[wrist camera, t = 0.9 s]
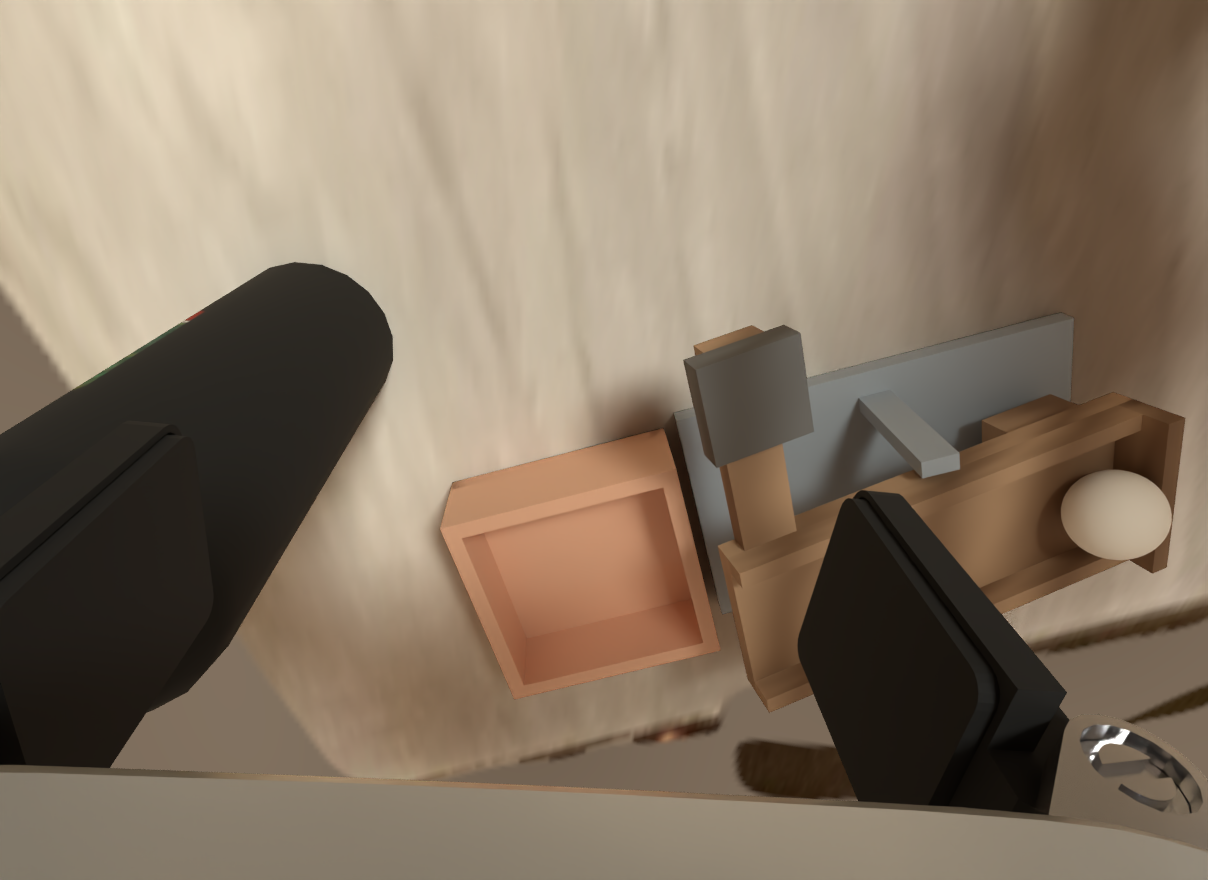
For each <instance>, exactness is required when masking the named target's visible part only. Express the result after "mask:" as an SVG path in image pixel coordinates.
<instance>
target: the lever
mask: <svg viewBox="0 0 1208 880" xmlns="http://www.w3.org/2000/svg"><path fill="white" fill-rule="evenodd" d="M694 350H695V355H696V356H693V357H691V358H688V359H685V360H683V361H684V366H685V370H686V375H687V379H688V384H689V388H690V393H691V397H692V402H693V406H694V411H695V415H696V420H697V424H698V429H699V433H700V438H701V442H702V447H703V451H704V455H705V456H706V457H707V458H708V459H709V461H710V462H711V463H712V464H713V465H714V466H715V467H716V468H720V473H721V477H722V482H723V487H724V491H725V496H726V501H727V505H728V510H729V515H730V520H731V524H732V529H733V534H734V538H735V539H734V540H731V541H728V542H726V543H723V544H721V545H718V550H719V554H720V559H721V563H722V567H723V572H724V576H725V581H726V585H727V589H728V594H729V598H730V603H731V607H732V611H733V616H734V620H735V625H736V629H737V633H738V638H739V642H740V647H741V651H742V655H743V660H744V664H745V669H746V673H747V677H748V680H749V682H750V683H751V685H752V687H753V688H754V690H755V691H756V693H757V694H758V696H759V697H760V699H761V701H762V702H763V704H764V705H765V707H766V708H767V710H768V711H769V712H772V711H775V710H777V709H779V708H782V707H784V706H786V705H789V704H791V703H793V702H796V701H798V700H801V699H803V698H805V697H808V696H810V695H812V694H813V691H812V689H811V686H810V684H809V682H808V679H807V677H806V674H805V672H804V670H803V667H802V665H801V662H800V660H799V656H798V647H797V644H798V636H799V632H800V629H801V626H802V623H803V620H804V617H805V614H806V611H807V608H808V605H809V602H810V599H811V596H812V593H813V590H814V587H815V584H816V581H817V578H818V575H819V572H820V569H821V565H822V562H823V559H824V556H825V553H826V550H827V547H828V544H829V541H830V538H831V535H832V532H833V529H834V526H835V523H836V520H837V517H838V514H839V511H840V508H841V505H842V503H843V502H844V501H845V500H846V499H847V498H852V499H853V497H854V496H855V495H856V493H857V492H859V491H857V492H854V493H852V494H849V495H847V496H844V497H842V498H839V499H836V500H834V501H831V502H829V503H826V504H824V505H821V506H818V507H816V508H813V509H811V510H808V511H806V512H803V513H800V514H798V515H795V516H794V511H793V505H792V499H791V493H790V487H789V481H788V475H787V469H786V463H785V457H784V450H783V443H785V442H788V441H791V440H793V439H796V438H799V437H802V436H804V435H807V434H810V433H812V432H814V427H813V420H812V413H811V406H810V399H809V391H808V384H807V377H806V370H805V363H804V356H803V348H802V341H801V334H800V332H798V331H795V330H793V329H791V328H789V327H787V326H785V325H782V326H779V327H776V328H773V329H770V330H768V331H765V332H764V331H762V330H760V329H758V328H756V327H754V326H752V325H751V326H748V327H745V328H743V329H740V330H737V331H734V332H731V333H728V334H725V335H723V336H720V337H717V338H714V339H711V340H708V341H705V342H702V343H700V344H697V345H694ZM1184 424H1185V418H1184V417H1181V416H1178V415H1176V414H1173V413H1170V412H1167V411H1164V410H1162V409H1159V408H1156V407H1153V406H1150V405H1148V404H1145V403H1142V402H1139V401H1137V400H1134V399H1131V398H1128V397H1125V396H1123V395H1120V394H1117V393H1114V392H1112V393H1109V394H1107V395H1104V396H1102V397H1099V398H1096V399H1094V400H1091V401H1089V402H1086V403H1084V404H1081V405H1077V404H1074V403H1072V402H1069V401H1067V400H1064V399H1062V398H1059V397H1057V396H1054V395H1052V394H1049V395H1046V396H1044V397H1041V398H1038V399H1036V400H1033V401H1031V402H1028V403H1025V404H1023V405H1020V406H1018V407H1015V408H1012V409H1010V410H1007V411H1005V412H1002V413H999V414H997V415H994V416H992V417H989V418H986V419H984V420H982V443H981V444H978V445H975V446H973V447H970V448H968V449H965V450H963V451H960V452H959V455H960V469H959V470H955V471H951V472H947V473H943V474H939V475H935V476H931V477H927V478H923V479H922V478H921V477H920V475H919V474H918V473H917V472H916V471H915V470H911V471H909V472H906V473H903V474H901V475H898V476H896V477H893V478H890V479H888V480H885V481H883V482H880V483H878V484H875V485H872V486H870V487H867V488H865V489H862V490H867V491H878V492H888V493H898V494H900V495H902V496H903V497H904V498H905V499H906V501H907V502H908V503H909V504H910V505H911V507H912V508H913V509H914V510H915V511H916V513H917V514H918V515H919V516H920V517H921V519H922V520H923V521H924V522H925V523H926V525H927V526H928V527H929V528H930V529H931V531H932V532H933V533H934V534H935V535H936V537H937V538H938V539H939V540H940V541H941V543H942V544H943V545H944V546H945V547H946V548H947V550H948V551H949V552H950V553H951V554H952V556H953V557H954V558H955V559H956V560H957V562H958V563H959V564H960V565H961V566H962V568H963V569H964V570H965V571H966V572H967V574H968V575H969V576H970V577H971V578H972V580H973V581H974V582H975V583H976V584H977V586H978V587H979V588H980V589H981V590H982V591H983V593H984V594H985V595H986V596H987V597H988V599H989V600H990V601H991V602H992V603H993V605H994V606H995V607H996V608H997V609H998V611H999V612H1000V613H1001V614H1003V613H1005V612H1008V611H1010V610H1012V609H1015V608H1017V607H1019V606H1022V605H1024V604H1026V603H1029V602H1031V601H1033V600H1036V599H1038V598H1040V597H1043V596H1045V595H1048V594H1050V593H1052V592H1055V591H1057V590H1059V589H1062V588H1064V587H1066V586H1069V585H1071V584H1073V583H1076V582H1078V581H1080V580H1083V579H1085V578H1088V577H1090V576H1092V575H1095V574H1097V573H1099V572H1102V571H1104V570H1106V569H1109V568H1111V567H1113V566H1116V565H1118V564H1120V563H1123V562H1125V561H1128V560H1130V561H1132V562H1134V563H1135V564H1137V565H1139V566H1141V567H1142V568H1144V569H1146V570H1147V571H1149V572H1151V573H1155V572H1157V571H1159V570H1162V569H1164V568H1166V567H1167V561H1168V553H1169V545H1170V537H1171V529H1172V522H1171V527H1170V530H1169V533H1168V535H1167V537H1166V538H1165V540H1164V541H1163V542H1162V543H1161V544H1160V545H1159V546H1158V547H1157V548H1156V549H1155V550H1153V551H1152V552H1150V553H1148V554H1146V555H1144V556H1141V557H1138V558H1134V559H1128V560H1111V559H1105V558H1101V557H1098V556H1095V555H1093V554H1091V553H1088V552H1087V551H1085V550H1083V549H1082V548H1080V547H1079V546H1078V545H1077V544H1076V543H1075V542H1074V541H1073V540H1072V539H1071V538H1070V537H1069V535H1068V534H1067V532H1066V530H1065V528H1064V526H1063V523H1062V519H1061V505H1062V501H1063V498H1064V496H1065V494H1066V493H1067V491H1068V490H1069V488H1070V487H1071V486H1072V485H1073V484H1074V483H1075V482H1076V481H1078V480H1079V479H1081V478H1082V477H1084V476H1086V475H1088V474H1091V473H1094V472H1097V471H1102V470H1124V471H1129V472H1132V473H1136V474H1139V475H1141V476H1143V477H1145V478H1147V479H1148V480H1150V481H1151V482H1153V483H1154V484H1155V485H1156V486H1157V487H1158V488H1159V489H1160V490H1161V491H1162V492H1163V494H1164V495H1165V496H1166V498H1167V500H1168V502H1169V505H1170V508H1171V514H1172V521H1173V513H1174V504H1175V496H1176V488H1177V480H1178V472H1179V464H1180V456H1181V448H1182V440H1183V432H1184ZM860 491H861V490H860Z"/></svg>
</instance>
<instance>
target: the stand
mask: <svg viewBox="0 0 1208 880" xmlns="http://www.w3.org/2000/svg"><path fill="white" fill-rule="evenodd" d="M1073 332H1074V318H1073V317H1070V316H1068V315H1066V314H1064V313H1062V312H1061V313H1057V314H1053V315H1049V316H1045V317H1041V318H1038V319H1034V320H1030V321H1026V322H1022V323H1018V324H1014V325H1011V326H1007V327H1003V328H999V329H995V330H991V331H987V332H984V333H980V334H976V335H972V336H968V337H964V338H960V339H957V340H953V341H949V342H945V343H941V344H937V345H933V346H930V347H926V348H922V349H918V350H914V351H910V352H906V353H903V354H899V355H895V356H891V357H887V358H883V359H879V360H876V361H872V362H868V363H864V364H860V365H856V366H852V367H849V368H845V369H841V370H837V371H833V372H829V373H825V374H822V375H818V376H814V377H810V378H807V384H808V391H809V399H810V406H811V413H812V420H813V427H814V432H812V433H810V434H807V435H804V436H802V437H799V438H796V439H793V440H791V441H788V442H785V443H783V450H784V457H785V463H786V469H787V475H788V481H789V487H790V493H791V499H792V505H793V511H794V516H795V515H798V514H800V513H803V512H806V511H808V510H811V509H813V508H816V507H818V506H821V505H824V504H826V503H829V502H831V501H834V500H836V499H839V498H842V497H844V496H847V495H849V494H852V493H854V492H857V491H860V490H862V489H865V488H867V487H870V486H872V485H875V484H878V483H880V482H883V481H885V480H888V479H890V478H893V477H896V476H898V475H901V474H903V473H906V472H909V471H911V470H915V471H916V472H917V473H918V474H919V475H920V477H921V478H922V479H923V478H927V477H931V476H935V475H939V474H943V473H947V472H951V471H955V470H959V469H960V455H959V452H960V451H963V450H965V449H968V448H970V447H973V446H975V445H978V444H981V443H982V420H984V419H986V418H989V417H992V416H994V415H997V414H999V413H1002V412H1005V411H1007V410H1010V409H1012V408H1015V407H1018V406H1020V405H1023V404H1025V403H1028V402H1031V401H1033V400H1036V399H1038V398H1041V397H1044V396H1046V395H1049V394H1052V395H1054V396H1057V397H1059V398H1062V399H1064V400H1067V401H1069V402H1071V379H1072V356H1073ZM674 416H675V420H676V425H677V429H678V433H679V437H680V442H681V446H682V450H683V454H684V458H685V463H686V467H687V471H688V475H689V480H690V484H691V488H692V492H693V496H694V501H695V505H696V509H697V513H698V518H699V522H700V526H701V530H702V534H703V539H704V543H705V547H706V551H707V556H708V560H709V564H710V568H711V572H712V577H713V581H714V585H715V589H716V594H717V598H718V602H719V606H720V609H721V612H722V614H726V613H730V612H733V611H732V607H731V603H730V598H729V594H728V589H727V585H726V581H725V576H724V572H723V567H722V563H721V559H720V554H719V550H718V545H721V544H723V543H726V542H728V541H731V540H734V539H735V538H734V534H733V529H732V524H731V520H730V515H729V510H728V505H727V501H726V496H725V491H724V487H723V482H722V477H721V473H720V468H716V467H715V466H714V465H713V464H712V463H711V462H710V461H709V459H708V458H707V457H706V456H705V455H704V451H703V447H702V442H701V438H700V433H699V429H698V424H697V420H696V415H695V411H694V408H691V409H687V410H683V411H679V412H675V413H674Z"/></svg>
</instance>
